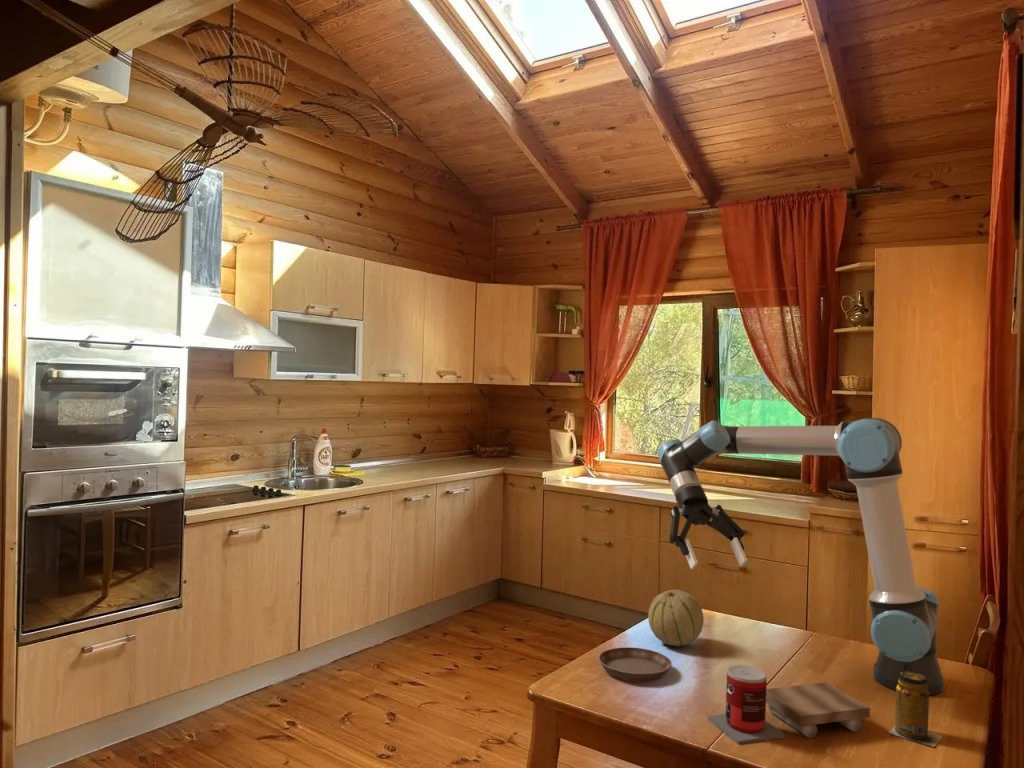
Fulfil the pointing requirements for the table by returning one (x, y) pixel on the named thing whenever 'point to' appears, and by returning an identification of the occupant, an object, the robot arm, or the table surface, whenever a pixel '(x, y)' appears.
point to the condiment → (913, 710)
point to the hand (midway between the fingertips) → (719, 564)
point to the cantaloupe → (675, 618)
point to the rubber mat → (742, 737)
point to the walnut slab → (815, 707)
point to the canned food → (746, 699)
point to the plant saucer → (635, 664)
